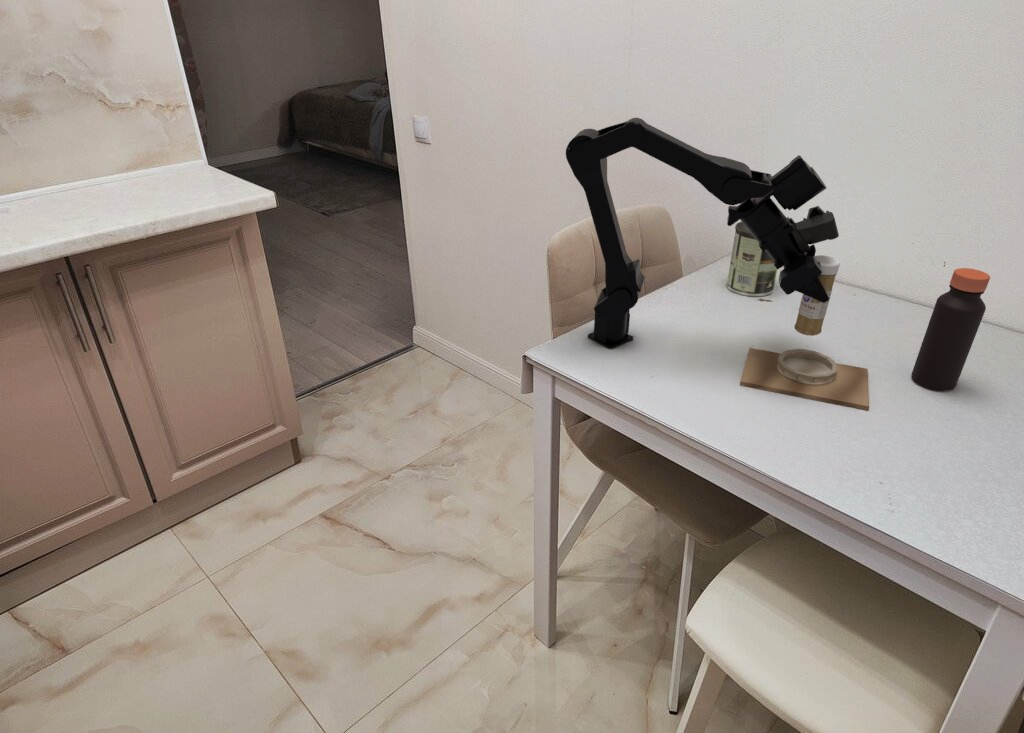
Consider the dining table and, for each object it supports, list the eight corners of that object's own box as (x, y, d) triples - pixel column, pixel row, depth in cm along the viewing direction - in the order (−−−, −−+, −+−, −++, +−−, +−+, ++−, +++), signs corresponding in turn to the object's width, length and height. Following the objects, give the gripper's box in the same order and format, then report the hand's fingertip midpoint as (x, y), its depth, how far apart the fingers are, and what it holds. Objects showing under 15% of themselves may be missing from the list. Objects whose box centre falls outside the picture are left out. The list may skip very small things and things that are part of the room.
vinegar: (903, 380, 115) (939, 272, 105) (921, 367, 119) (958, 262, 109) (944, 396, 110) (986, 285, 100) (962, 383, 114) (1004, 274, 104)
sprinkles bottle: (788, 329, 118) (805, 257, 111) (804, 322, 120) (822, 252, 114) (810, 339, 115) (829, 266, 108) (827, 332, 117) (846, 260, 110)
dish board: (739, 385, 114) (742, 372, 113) (748, 351, 124) (751, 339, 123) (868, 410, 107) (872, 397, 106) (866, 372, 117) (870, 360, 116)
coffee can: (770, 280, 153) (782, 221, 146) (776, 298, 145) (789, 236, 138) (724, 277, 155) (733, 218, 148) (727, 295, 147) (737, 233, 139)
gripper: (820, 213, 99) (880, 290, 102) (809, 181, 114) (861, 248, 117) (755, 258, 105) (814, 329, 108) (752, 221, 120) (804, 284, 123)
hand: (825, 295), depth 114 cm, fingers closed on sprinkles bottle, 4 cm apart
